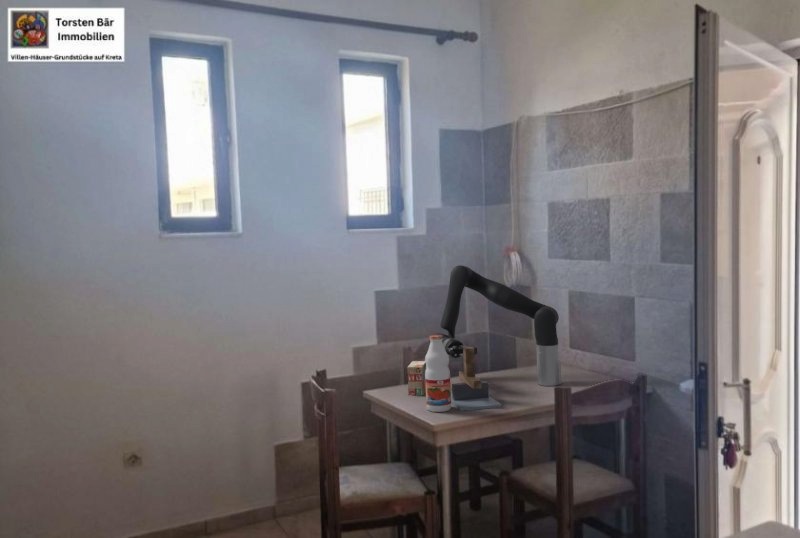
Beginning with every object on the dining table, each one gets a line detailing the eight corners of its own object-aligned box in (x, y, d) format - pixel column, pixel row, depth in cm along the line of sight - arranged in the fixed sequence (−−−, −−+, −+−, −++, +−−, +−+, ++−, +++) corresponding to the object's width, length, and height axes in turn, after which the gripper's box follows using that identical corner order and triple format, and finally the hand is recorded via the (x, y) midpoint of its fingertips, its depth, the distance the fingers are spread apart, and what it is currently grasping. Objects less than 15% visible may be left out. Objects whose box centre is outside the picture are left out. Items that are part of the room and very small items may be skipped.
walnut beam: (466, 377, 256) (465, 343, 255) (482, 388, 236) (480, 351, 236) (458, 378, 255) (457, 344, 255) (473, 389, 236) (471, 352, 235)
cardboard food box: (416, 384, 280) (415, 357, 279) (430, 384, 278) (429, 356, 278) (408, 395, 259) (407, 366, 258) (423, 395, 257) (422, 366, 257)
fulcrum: (479, 391, 260) (479, 375, 260) (501, 407, 235) (500, 388, 234) (442, 394, 257) (442, 378, 257) (460, 410, 232) (459, 392, 231)
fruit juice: (449, 405, 240) (447, 333, 239) (452, 411, 231) (450, 336, 230) (425, 406, 240) (422, 334, 239) (427, 413, 230) (424, 338, 229)
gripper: (436, 340, 266) (446, 346, 250) (468, 337, 269) (480, 343, 253) (437, 357, 267) (447, 364, 251) (469, 355, 269) (481, 361, 253)
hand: (464, 353), depth 252 cm, fingers open, 8 cm apart
